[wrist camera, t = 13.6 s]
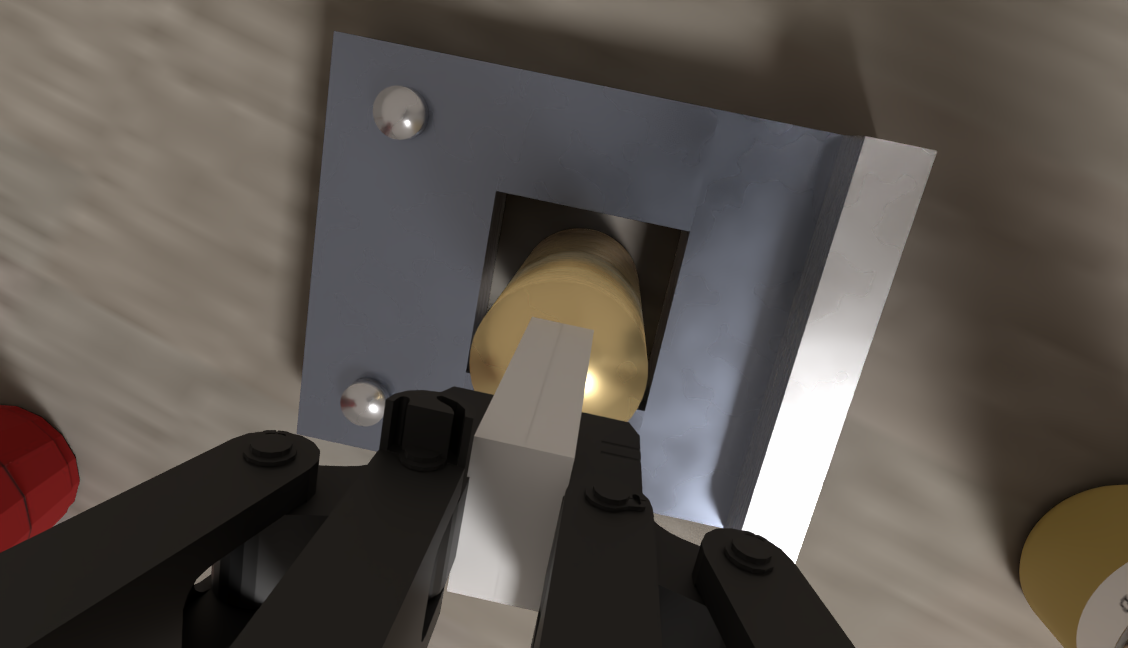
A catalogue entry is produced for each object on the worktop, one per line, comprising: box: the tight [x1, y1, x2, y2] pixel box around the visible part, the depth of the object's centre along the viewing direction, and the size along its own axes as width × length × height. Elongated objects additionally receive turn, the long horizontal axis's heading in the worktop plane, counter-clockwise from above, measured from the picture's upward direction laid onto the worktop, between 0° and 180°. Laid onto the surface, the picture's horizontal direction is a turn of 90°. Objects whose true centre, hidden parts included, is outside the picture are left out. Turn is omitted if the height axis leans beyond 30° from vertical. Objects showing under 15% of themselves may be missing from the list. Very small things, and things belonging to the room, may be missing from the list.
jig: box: [297, 31, 937, 563], centre depth 23 cm, size 18×14×4 cm
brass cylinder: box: [469, 228, 648, 422], centre depth 21 cm, size 4×4×9 cm
